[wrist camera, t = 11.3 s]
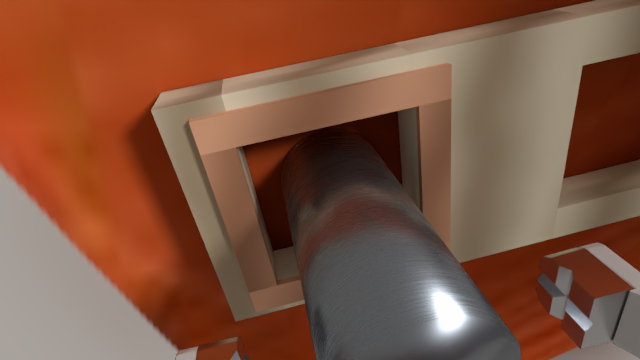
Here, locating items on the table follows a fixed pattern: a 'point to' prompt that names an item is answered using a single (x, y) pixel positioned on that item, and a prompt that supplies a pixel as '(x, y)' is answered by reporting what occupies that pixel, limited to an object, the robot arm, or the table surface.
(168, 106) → the beige flat frame
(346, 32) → the table surface
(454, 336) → the steel peg
